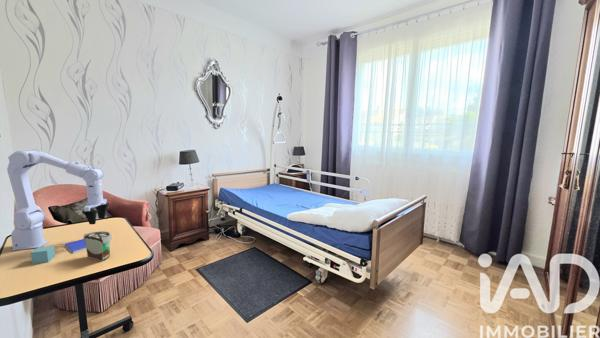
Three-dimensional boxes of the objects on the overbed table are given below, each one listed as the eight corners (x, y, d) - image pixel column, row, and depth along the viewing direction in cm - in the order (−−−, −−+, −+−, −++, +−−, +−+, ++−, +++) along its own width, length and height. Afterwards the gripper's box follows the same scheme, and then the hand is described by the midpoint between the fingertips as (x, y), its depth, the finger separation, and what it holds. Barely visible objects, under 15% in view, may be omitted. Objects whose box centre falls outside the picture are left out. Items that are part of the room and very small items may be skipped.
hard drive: (95, 244, 115) (86, 237, 122) (72, 251, 109) (64, 243, 116) (96, 247, 116) (87, 240, 123) (73, 254, 109) (64, 246, 116)
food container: (120, 255, 108) (118, 233, 107) (105, 262, 103) (103, 239, 101) (100, 250, 112) (98, 229, 111) (85, 256, 107) (83, 234, 105)
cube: (32, 264, 100) (30, 252, 99) (39, 258, 104) (38, 247, 103) (48, 262, 101) (46, 250, 101) (55, 256, 106) (53, 245, 105)
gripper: (95, 197, 112) (97, 226, 114) (112, 190, 127) (114, 216, 128) (77, 197, 111) (80, 227, 113) (96, 190, 125) (98, 216, 127)
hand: (97, 221), depth 121 cm, fingers open, 7 cm apart
